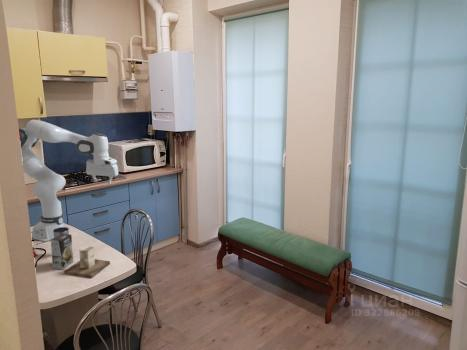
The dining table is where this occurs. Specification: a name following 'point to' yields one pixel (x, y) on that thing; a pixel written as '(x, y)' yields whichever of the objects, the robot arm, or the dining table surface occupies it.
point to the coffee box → (62, 251)
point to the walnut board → (86, 272)
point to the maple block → (87, 257)
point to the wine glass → (60, 231)
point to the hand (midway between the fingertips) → (102, 182)
